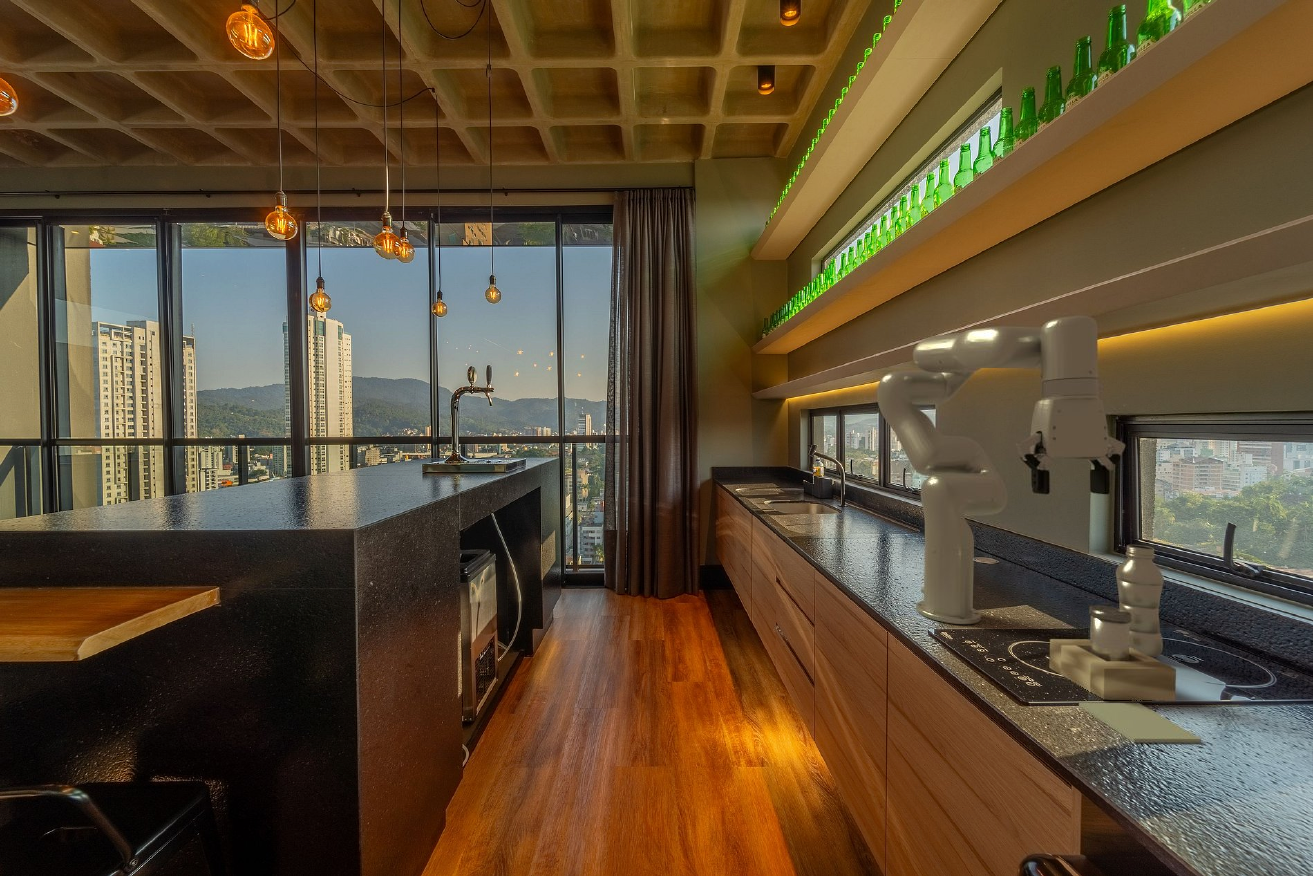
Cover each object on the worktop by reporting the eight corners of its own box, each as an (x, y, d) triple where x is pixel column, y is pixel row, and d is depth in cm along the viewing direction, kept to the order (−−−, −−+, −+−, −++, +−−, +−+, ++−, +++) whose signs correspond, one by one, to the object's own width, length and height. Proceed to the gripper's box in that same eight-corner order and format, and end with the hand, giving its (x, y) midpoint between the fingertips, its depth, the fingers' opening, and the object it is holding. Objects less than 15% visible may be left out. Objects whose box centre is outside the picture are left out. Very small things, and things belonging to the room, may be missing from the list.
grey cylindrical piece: (1079, 675, 88) (1081, 605, 88) (1110, 676, 88) (1112, 605, 88) (1106, 691, 83) (1108, 616, 83) (1138, 691, 83) (1140, 616, 83)
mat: (1078, 706, 78) (1079, 702, 78) (1138, 706, 78) (1138, 703, 78) (1133, 742, 69) (1133, 738, 69) (1201, 742, 69) (1201, 739, 69)
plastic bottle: (1172, 664, 93) (1175, 552, 92) (1128, 660, 94) (1131, 550, 94) (1146, 648, 99) (1149, 544, 98) (1105, 645, 100) (1108, 542, 100)
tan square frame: (1049, 667, 91) (1050, 639, 91) (1112, 668, 91) (1113, 639, 91) (1103, 701, 80) (1104, 668, 80) (1175, 701, 80) (1176, 669, 80)
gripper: (1102, 393, 91) (1104, 491, 91) (1002, 394, 92) (1003, 491, 91) (1141, 389, 84) (1143, 495, 84) (1032, 389, 84) (1033, 495, 84)
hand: (1070, 493), depth 88 cm, fingers open, 9 cm apart
